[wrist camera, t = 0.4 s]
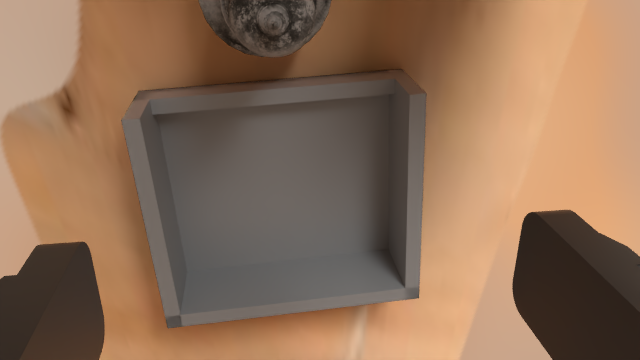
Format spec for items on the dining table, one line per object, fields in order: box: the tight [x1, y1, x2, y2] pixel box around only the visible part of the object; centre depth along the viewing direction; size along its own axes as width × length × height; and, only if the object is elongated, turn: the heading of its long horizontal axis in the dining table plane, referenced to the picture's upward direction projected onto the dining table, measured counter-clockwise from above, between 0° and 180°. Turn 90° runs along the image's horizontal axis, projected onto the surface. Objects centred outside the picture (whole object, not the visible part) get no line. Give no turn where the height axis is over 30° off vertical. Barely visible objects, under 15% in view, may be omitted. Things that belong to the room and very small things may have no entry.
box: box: [121, 69, 426, 328], centre depth 30 cm, size 12×14×4 cm
